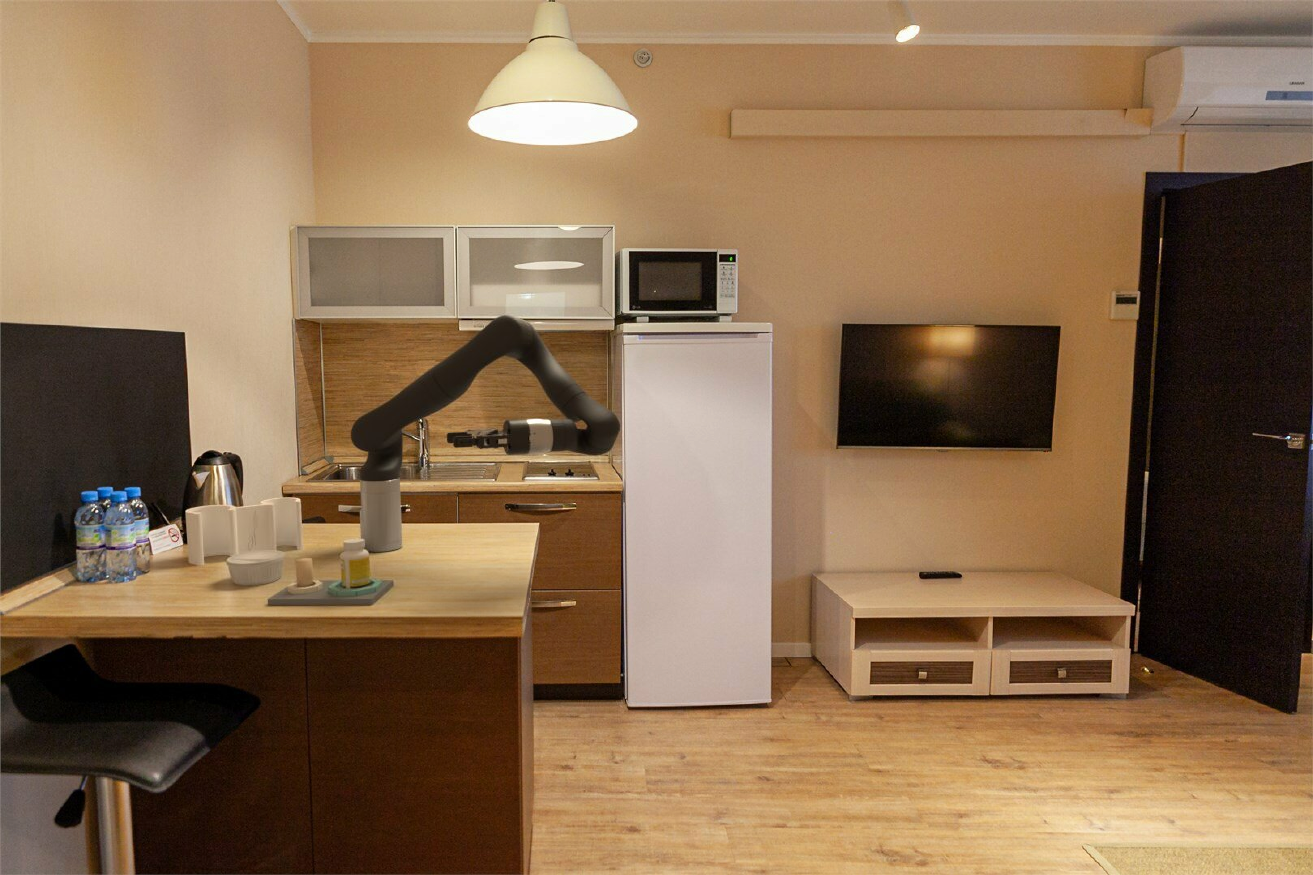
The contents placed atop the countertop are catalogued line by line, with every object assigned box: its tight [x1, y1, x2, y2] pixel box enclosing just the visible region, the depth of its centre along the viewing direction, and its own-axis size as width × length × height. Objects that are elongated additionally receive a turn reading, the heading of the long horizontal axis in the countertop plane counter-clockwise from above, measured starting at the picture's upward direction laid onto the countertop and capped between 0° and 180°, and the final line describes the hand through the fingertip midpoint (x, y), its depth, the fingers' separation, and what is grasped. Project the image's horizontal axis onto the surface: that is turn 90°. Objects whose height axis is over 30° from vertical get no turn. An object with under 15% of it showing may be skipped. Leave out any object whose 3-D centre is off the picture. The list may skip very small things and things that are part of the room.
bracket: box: [185, 497, 304, 567], centre depth 202 cm, size 25×10×12 cm, turn 130°
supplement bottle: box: [339, 537, 371, 589], centre depth 167 cm, size 5×5×10 cm
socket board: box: [267, 557, 395, 606], centre depth 167 cm, size 20×13×7 cm, turn 90°
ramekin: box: [226, 550, 286, 587], centre depth 179 cm, size 11×11×5 cm
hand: (450, 440), depth 173 cm, fingers open, 8 cm apart
